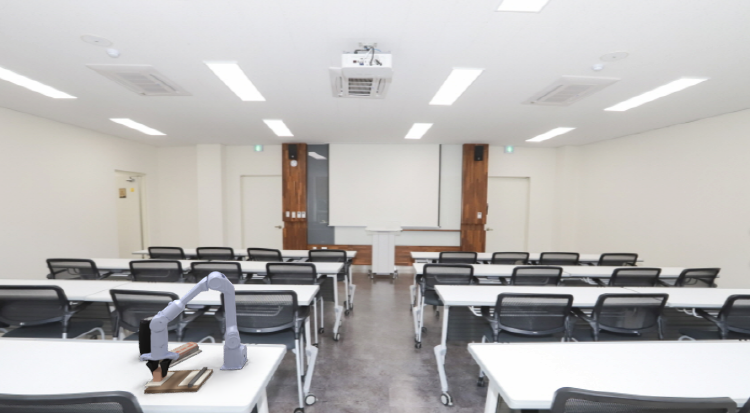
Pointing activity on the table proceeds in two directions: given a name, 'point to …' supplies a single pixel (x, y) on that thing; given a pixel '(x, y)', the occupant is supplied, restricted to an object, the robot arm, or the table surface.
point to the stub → (158, 378)
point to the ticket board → (182, 381)
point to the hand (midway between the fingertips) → (160, 376)
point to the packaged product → (184, 353)
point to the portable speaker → (145, 335)
